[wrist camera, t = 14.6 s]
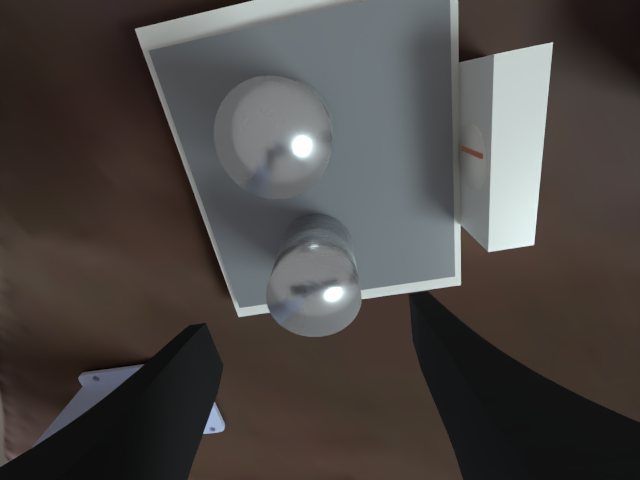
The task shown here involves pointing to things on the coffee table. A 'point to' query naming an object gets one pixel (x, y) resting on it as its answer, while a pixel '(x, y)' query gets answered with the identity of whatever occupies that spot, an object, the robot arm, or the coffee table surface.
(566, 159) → the coffee table surface
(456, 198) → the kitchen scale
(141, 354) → the coffee table surface
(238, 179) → the cylinder
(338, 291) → the cylinder
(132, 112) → the coffee table surface
